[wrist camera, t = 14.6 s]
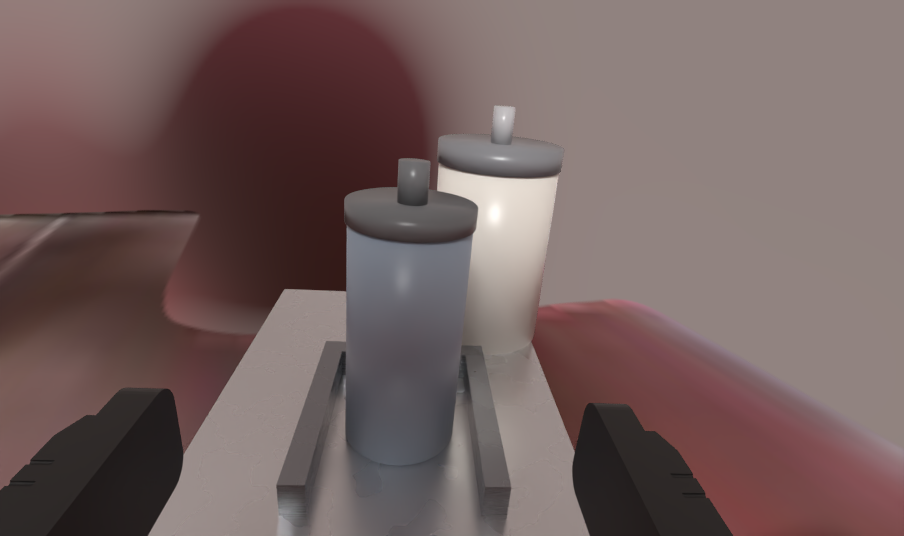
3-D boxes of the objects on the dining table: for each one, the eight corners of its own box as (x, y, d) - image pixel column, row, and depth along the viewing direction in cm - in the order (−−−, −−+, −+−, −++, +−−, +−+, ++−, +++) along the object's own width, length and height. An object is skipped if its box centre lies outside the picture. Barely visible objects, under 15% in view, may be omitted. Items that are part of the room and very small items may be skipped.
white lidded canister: (428, 353, 29) (443, 107, 24) (427, 300, 36) (438, 97, 31) (546, 357, 30) (587, 117, 25) (524, 303, 36) (552, 106, 31)
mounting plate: (129, 573, 17) (115, 519, 16) (285, 301, 36) (283, 270, 35) (608, 570, 18) (622, 521, 17) (512, 309, 38) (516, 280, 37)
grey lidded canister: (333, 464, 21) (332, 167, 16) (352, 390, 25) (355, 146, 21) (456, 470, 21) (489, 179, 16) (452, 396, 26) (477, 156, 21)
